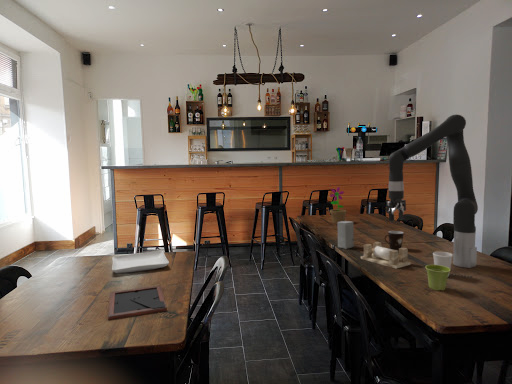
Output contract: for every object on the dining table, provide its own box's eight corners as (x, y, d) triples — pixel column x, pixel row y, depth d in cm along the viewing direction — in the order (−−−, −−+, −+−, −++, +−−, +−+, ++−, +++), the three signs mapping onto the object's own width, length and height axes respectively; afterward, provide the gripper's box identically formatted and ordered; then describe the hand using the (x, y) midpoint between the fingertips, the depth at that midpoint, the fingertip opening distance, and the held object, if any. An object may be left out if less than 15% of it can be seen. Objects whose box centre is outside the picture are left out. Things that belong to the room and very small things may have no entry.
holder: (410, 264, 182) (411, 249, 181) (396, 268, 176) (396, 252, 175) (375, 255, 200) (375, 241, 200) (360, 258, 194) (360, 244, 193)
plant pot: (452, 287, 149) (453, 267, 149) (446, 294, 142) (447, 273, 142) (428, 282, 156) (429, 263, 155) (421, 288, 149) (422, 268, 148)
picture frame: (167, 312, 131) (160, 289, 155) (166, 306, 131) (160, 284, 154) (108, 321, 124) (110, 296, 148) (108, 315, 124) (110, 291, 148)
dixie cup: (452, 279, 160) (453, 257, 159) (431, 276, 164) (432, 254, 163) (452, 273, 167) (453, 252, 166) (432, 271, 171) (433, 250, 170)
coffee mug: (400, 247, 218) (401, 230, 217) (405, 250, 209) (405, 233, 208) (381, 246, 219) (381, 230, 218) (384, 250, 210) (385, 233, 209)
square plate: (163, 256, 206) (162, 249, 206) (169, 269, 181) (169, 262, 180) (112, 262, 196) (112, 255, 196) (112, 277, 171) (111, 269, 171)
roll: (404, 262, 182) (404, 250, 181) (397, 264, 178) (397, 252, 178) (373, 254, 197) (373, 243, 197) (366, 256, 194) (366, 245, 194)
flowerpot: (343, 220, 310) (344, 186, 307) (349, 223, 295) (349, 187, 293) (327, 221, 309) (327, 186, 306) (332, 224, 294) (332, 188, 292)
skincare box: (346, 249, 214) (346, 223, 213) (336, 247, 220) (336, 221, 218) (354, 246, 219) (354, 221, 218) (344, 244, 225) (345, 220, 223)
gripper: (394, 191, 182) (394, 222, 183) (410, 189, 190) (410, 219, 191) (381, 190, 188) (381, 221, 189) (397, 188, 196) (397, 217, 198)
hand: (396, 220), depth 190 cm, fingers open, 8 cm apart
